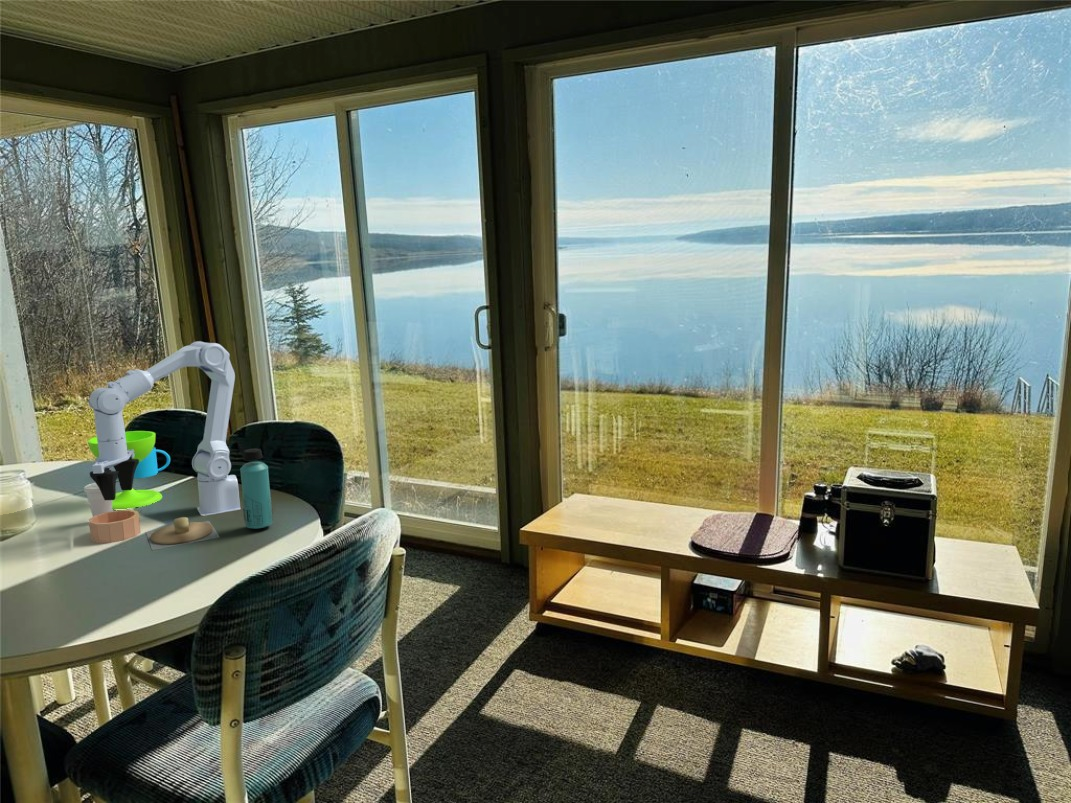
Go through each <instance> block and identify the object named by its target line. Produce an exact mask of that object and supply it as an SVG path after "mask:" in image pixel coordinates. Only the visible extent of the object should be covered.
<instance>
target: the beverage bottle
mask: <svg viewBox="0 0 1071 803" xmlns="http://www.w3.org/2000/svg"><path fill="white" fill-rule="evenodd" d="M262 458H263V452H262V450H261V448H248V449H245V450H243V460H244V461H249V462H247V463H244V464H243V465H242V466H241V467H240V469H239V471H240V480H241V481H240V482H241V493H242V506H243V508H242V510H243V520H244V524H245V527H246V528H248V529H262V528H266V527H267V528H268V526H271V525H272V524H273V521H274V518H273V517H274V516H273V515H274V514H273V512H274V511H273V503H272V495H271V489H270V488H271V487H270V479H269V478H270V477H269V475H270V474H269V466H268V465H267V464H266V463H265V462H262V461H258V460H261V459H262ZM256 460H257V461H256Z"/></svg>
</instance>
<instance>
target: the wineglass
mask: <svg viewBox="0 0 1071 803" xmlns="http://www.w3.org/2000/svg"><path fill="white" fill-rule="evenodd" d="M156 434H157V433H156V432H154V431H149V430H148V431H146V430H134V431H131V430H130V431H125V437H126V445H127V450H134V456H135V457H134V458H132V459H139V462H141V461H142V460H143V459H145V458H146V457H147V456H148V455H149V454H150V452H151V451H152V450H153V447H155V444H156V437H157V436H156ZM87 445H88V448H89V450H90V452H91V453H92V454H93V456H94V458H97V457H99V450H98V442H97V436H94V437H91V438H90V439H88V440H87ZM162 499H163V495H162V493H160V492H159V491H157V490H153V489H152V490H151V489H134V488H133V487H132V490H122V491H121V492H120V491H119V492H116V496H115V500H112V509H127V508H134V509H136V508H135V507H139V508H143V507H146V505H147V506H151V505H153V504H155V502H156V503H157V501H158V502H159V501H161V500H162ZM152 503H153V504H152ZM142 506H143V507H142ZM127 510H128V509H127Z"/></svg>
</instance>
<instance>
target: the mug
mask: <svg viewBox="0 0 1071 803" xmlns="http://www.w3.org/2000/svg"><path fill="white" fill-rule="evenodd" d="M157 453H160V454H163V455H164V456H165V457H166V462H165V464H164V465H163V466H162V467H159V468H158V462H157V461H158V460H157V459H158V458H157ZM170 464H171V456H170V455H169V454H168V453H167V452H166V451H165V450H162V449H156V447H155V446H154V447H153V450H152V451H151V452H150V454H149V455H148V456H147V457H146V458H145V459H143V460H142V461H141V462H139V463H138V465H137V467H136V470H135V474H134V479H142V478H143V479H144V478H151V477H154V476H156V475H158V474H159V472H160V471H163V470H165V469H166V468H167V467H169V465H170ZM157 473H158V474H157Z"/></svg>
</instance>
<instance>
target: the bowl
mask: <svg viewBox="0 0 1071 803" xmlns="http://www.w3.org/2000/svg"><path fill="white" fill-rule="evenodd" d="M88 523H89V532H90V540H91V542H93V543H96V544H113V543H117V542H123V541H127V540H129V539H133V538H135V537H137V536H138V535H139V534H141V532H142V530H141V525H140V524H141V523H140V514H139V511H138V510H134V509H127V510H117V511H110V512H105V513H102V514H99V515H95V516H94V517H93V516H92V517H90V518H88Z"/></svg>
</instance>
